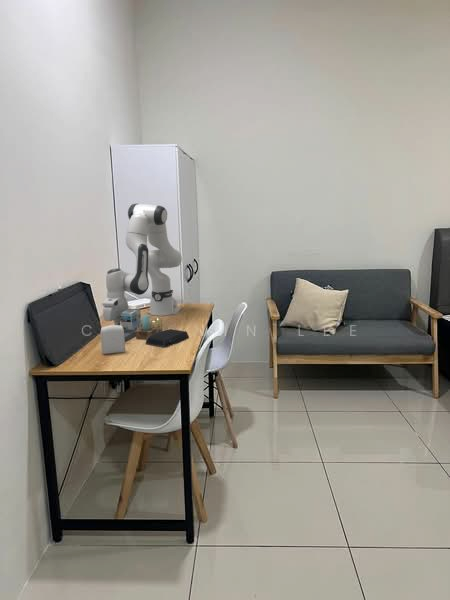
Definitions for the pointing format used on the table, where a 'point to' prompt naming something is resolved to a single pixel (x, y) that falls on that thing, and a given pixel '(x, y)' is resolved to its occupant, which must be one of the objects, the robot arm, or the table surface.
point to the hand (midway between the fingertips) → (117, 325)
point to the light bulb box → (131, 319)
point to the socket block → (145, 333)
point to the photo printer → (112, 339)
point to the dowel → (146, 322)
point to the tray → (129, 334)
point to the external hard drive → (166, 338)
